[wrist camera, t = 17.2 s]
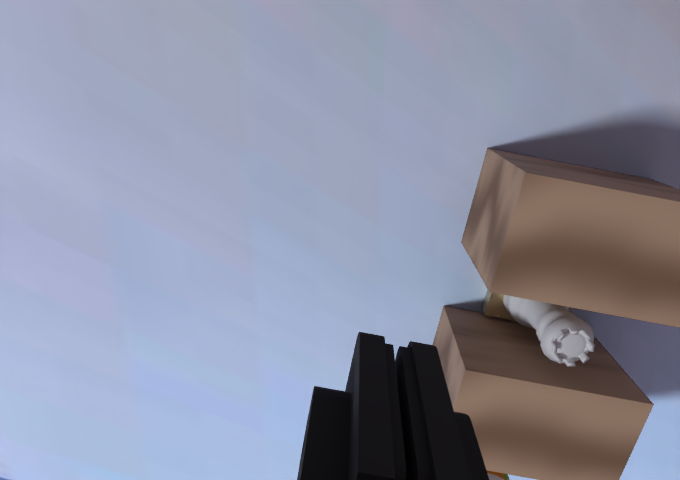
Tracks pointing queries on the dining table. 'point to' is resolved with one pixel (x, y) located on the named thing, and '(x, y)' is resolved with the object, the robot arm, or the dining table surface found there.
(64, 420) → the dining table surface
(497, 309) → the gold metallic block
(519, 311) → the rook chess piece
